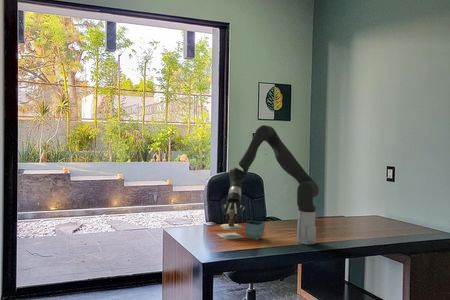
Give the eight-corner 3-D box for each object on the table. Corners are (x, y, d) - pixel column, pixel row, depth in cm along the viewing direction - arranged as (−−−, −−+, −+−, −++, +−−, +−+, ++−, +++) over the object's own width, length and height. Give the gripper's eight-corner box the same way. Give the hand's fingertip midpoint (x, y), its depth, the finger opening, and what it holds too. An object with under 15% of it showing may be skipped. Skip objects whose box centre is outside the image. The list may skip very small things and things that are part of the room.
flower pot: (243, 239, 210) (244, 223, 210) (250, 236, 218) (250, 220, 218) (258, 241, 206) (258, 225, 206) (264, 238, 214) (265, 222, 214)
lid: (245, 229, 213) (246, 211, 212) (226, 231, 207) (227, 212, 207) (235, 224, 223) (235, 207, 223) (216, 226, 218) (217, 209, 217)
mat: (245, 238, 213) (245, 237, 213) (225, 239, 207) (225, 239, 207) (234, 233, 223) (234, 232, 223) (216, 234, 218) (216, 234, 218)
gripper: (222, 191, 223) (217, 215, 211) (246, 192, 221) (243, 217, 209) (223, 199, 229) (219, 223, 217) (246, 200, 226) (243, 225, 214)
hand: (231, 220), depth 213 cm, fingers closed on lid, 3 cm apart
